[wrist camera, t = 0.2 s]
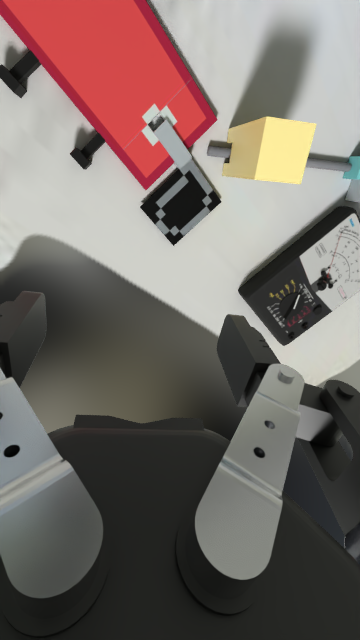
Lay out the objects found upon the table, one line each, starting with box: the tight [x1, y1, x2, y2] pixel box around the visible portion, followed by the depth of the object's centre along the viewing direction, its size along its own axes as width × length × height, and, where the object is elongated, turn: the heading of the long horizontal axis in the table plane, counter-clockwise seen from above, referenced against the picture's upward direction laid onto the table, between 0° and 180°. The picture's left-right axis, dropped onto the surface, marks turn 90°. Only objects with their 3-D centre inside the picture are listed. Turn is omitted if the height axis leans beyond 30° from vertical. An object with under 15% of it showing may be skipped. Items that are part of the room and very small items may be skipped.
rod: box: [207, 146, 360, 180], centre depth 36 cm, size 28×3×3 cm, turn 85°
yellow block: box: [222, 116, 316, 184], centre depth 31 cm, size 5×5×10 cm
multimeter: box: [238, 206, 360, 346], centre depth 44 cm, size 13×19×5 cm
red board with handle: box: [0, 0, 221, 246], centre depth 30 cm, size 30×3×15 cm
